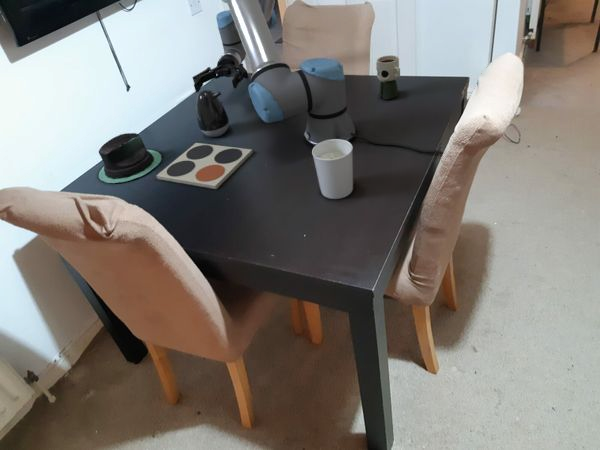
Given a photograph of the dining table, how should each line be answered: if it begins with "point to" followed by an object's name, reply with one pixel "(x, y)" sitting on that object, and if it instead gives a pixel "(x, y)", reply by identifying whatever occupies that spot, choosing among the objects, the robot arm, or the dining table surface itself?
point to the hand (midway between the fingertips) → (214, 86)
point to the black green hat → (126, 158)
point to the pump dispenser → (211, 114)
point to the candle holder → (334, 167)
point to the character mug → (388, 75)
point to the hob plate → (205, 165)
